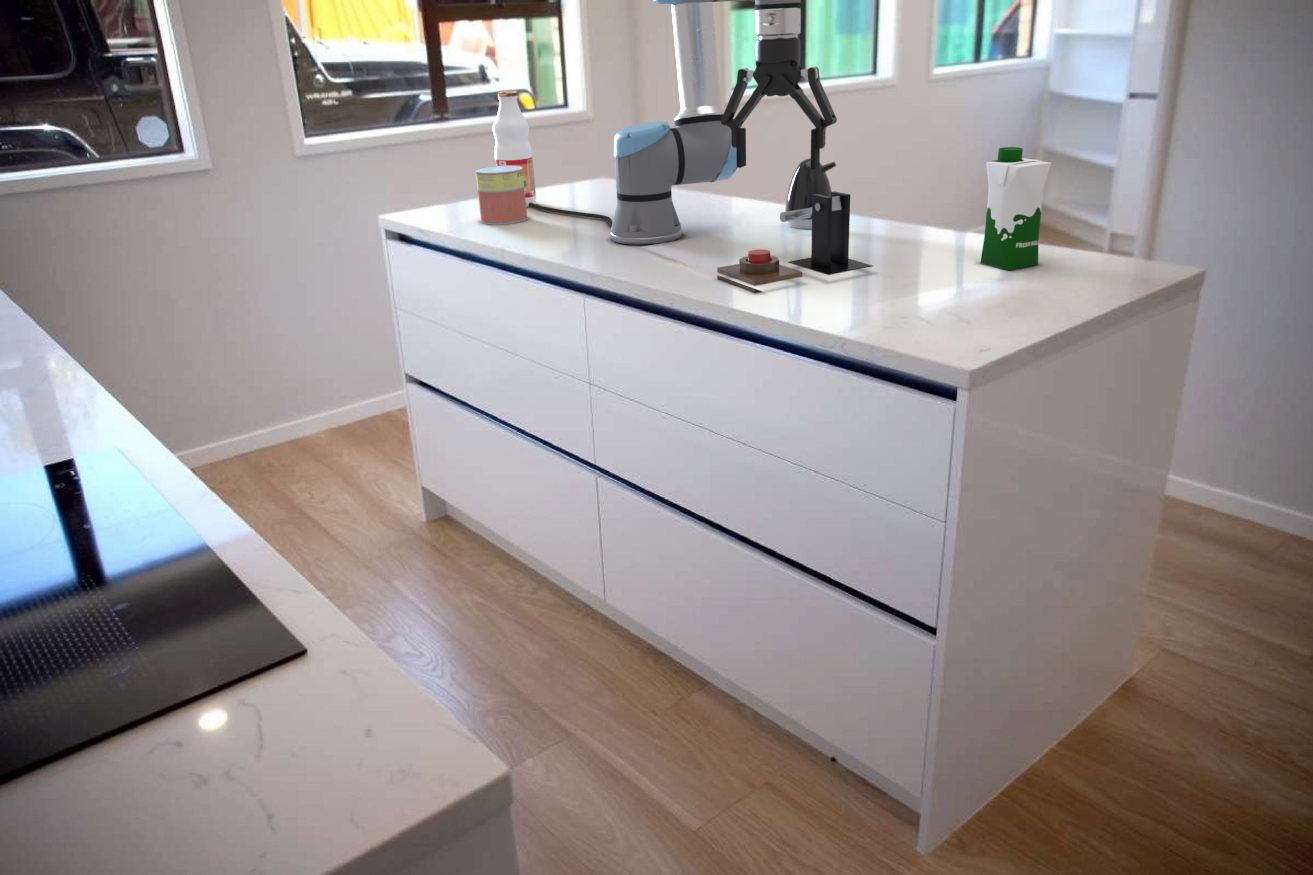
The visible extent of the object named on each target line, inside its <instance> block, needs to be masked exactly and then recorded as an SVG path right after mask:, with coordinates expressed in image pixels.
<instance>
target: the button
mask: <svg viewBox="0 0 1313 875" xmlns="http://www.w3.org/2000/svg"><path fill="white" fill-rule="evenodd" d="M771 254H772V253H771V250H769V249H763V248H761V249H759V248H758V249H751V250H748V251H747V256H748V262H753V263H764V262H769V261H771V256H772V255H771Z"/></svg>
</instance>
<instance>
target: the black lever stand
mask: <svg viewBox="0 0 1313 875" xmlns="http://www.w3.org/2000/svg"><path fill="white" fill-rule="evenodd" d="M836 196H840V201H841V207H842V210H838V211H835V212H832V197H836ZM850 216H851V194H850V193H846V192H840V191H835V190H834V191H832V192H831V197H828V196H824V195H819V194H814V195H812V229H811V251H810V252H811V254H810V255H811V256H810V257H806V258H799V259H795V260H789V261H787V263H788V264H791V265H795V266H798V267H801V268H805V269H807V270H811V271H814V272H817V273H820V274H823V275H826V276H830V275H836V274H840V273H845V272H851V271H856V270H862V269H866V268H872V267H874V265H873V264H869V263H865V262H863V261H860V260H859V261H858V260H855V259H852V258H849V253H850V252H849V251H850V221H851V219H850V218H851V217H850Z"/></svg>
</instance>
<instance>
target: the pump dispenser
mask: <svg viewBox="0 0 1313 875" xmlns="http://www.w3.org/2000/svg"><path fill="white" fill-rule="evenodd" d="M836 167H837V163H836V161H832V162H829V163H826V164H823V165H822V163H821V162H820V167H819V168H817V169H811V157H810V158H809V157H808V158H805V159H803V160H802V161H801V162H799V163H798V165H797V167H796V168H795V170H794V173H793V175H792V177H791V180H790V183H789V186H788V190H787V195H786V200H785V207H784V209H785V210H784V212H787V211H793V210H800V209H806V208H811V207H812V195H814V194H819V195H824V196H828V197H831V192H833V190H832V186H831V183H830V180H829V176H828V175H827V172H828V171H830V170H831V169H833V168H836ZM787 223H788V225H789V227H790V228H793V229H798V230H812V214H811V217H810V218H805V219H799V220H793V221H787Z"/></svg>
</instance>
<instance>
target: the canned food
mask: <svg viewBox="0 0 1313 875" xmlns="http://www.w3.org/2000/svg"><path fill="white" fill-rule="evenodd" d="M474 173H475V179H476V187H477V196H478V206H479V214H480V223H482V224H484V225H490V226H491V225H492V226H494V225H495V226H497V225H498V226H499V225H501V226H502V225H511V224H519V223H521V222H522V223H523V222H524V221H527V220H528V219H529V217H528V211H527V207H526V199H525V189H524V178H523V167H521V166H496V165H495V166H494V165H493V166H486V167H480V168H476V169H475V170H474Z"/></svg>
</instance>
